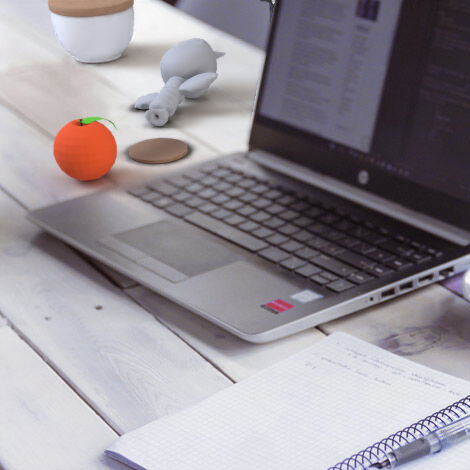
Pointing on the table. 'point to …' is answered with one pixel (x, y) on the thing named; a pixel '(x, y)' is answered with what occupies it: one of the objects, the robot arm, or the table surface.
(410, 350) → the table surface
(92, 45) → the lidded bowl
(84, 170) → the clementine
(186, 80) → the toy creature
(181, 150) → the cork coaster
